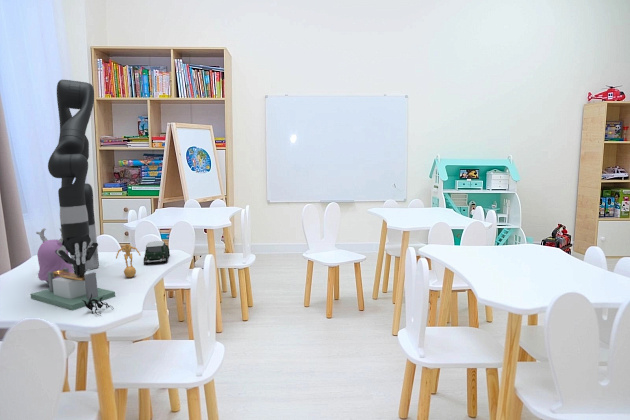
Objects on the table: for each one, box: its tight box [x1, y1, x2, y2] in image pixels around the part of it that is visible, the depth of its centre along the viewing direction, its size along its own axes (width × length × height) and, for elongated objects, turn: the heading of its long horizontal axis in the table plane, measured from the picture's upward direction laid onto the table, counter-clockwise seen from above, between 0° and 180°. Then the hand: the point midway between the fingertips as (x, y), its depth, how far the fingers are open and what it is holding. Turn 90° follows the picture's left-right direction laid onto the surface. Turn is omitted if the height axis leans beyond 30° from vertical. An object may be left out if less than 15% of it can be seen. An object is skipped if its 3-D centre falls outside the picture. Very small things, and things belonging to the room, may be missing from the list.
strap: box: [53, 269, 85, 281], centre depth 147 cm, size 17×3×2 cm, turn 58°
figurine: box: [115, 243, 141, 278], centre depth 170 cm, size 8×6×12 cm
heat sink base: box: [30, 268, 116, 311], centre depth 148 cm, size 23×14×9 cm, turn 58°
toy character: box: [35, 227, 74, 285], centre depth 162 cm, size 12×10×20 cm
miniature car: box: [143, 240, 171, 266], centre depth 194 cm, size 9×18×8 cm, turn 13°
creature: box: [82, 294, 115, 317], centre depth 134 cm, size 8×5×8 cm
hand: (80, 275), depth 144 cm, fingers closed
